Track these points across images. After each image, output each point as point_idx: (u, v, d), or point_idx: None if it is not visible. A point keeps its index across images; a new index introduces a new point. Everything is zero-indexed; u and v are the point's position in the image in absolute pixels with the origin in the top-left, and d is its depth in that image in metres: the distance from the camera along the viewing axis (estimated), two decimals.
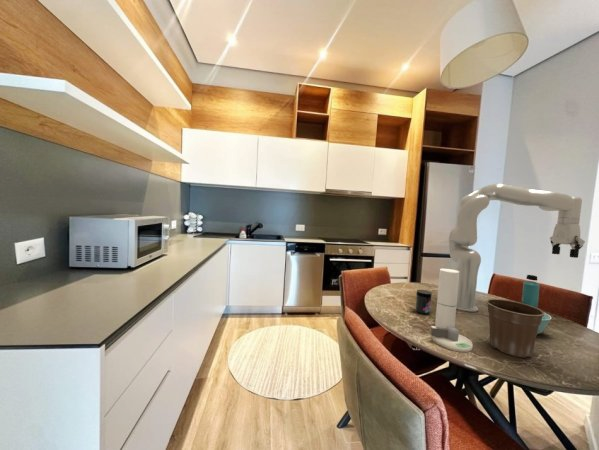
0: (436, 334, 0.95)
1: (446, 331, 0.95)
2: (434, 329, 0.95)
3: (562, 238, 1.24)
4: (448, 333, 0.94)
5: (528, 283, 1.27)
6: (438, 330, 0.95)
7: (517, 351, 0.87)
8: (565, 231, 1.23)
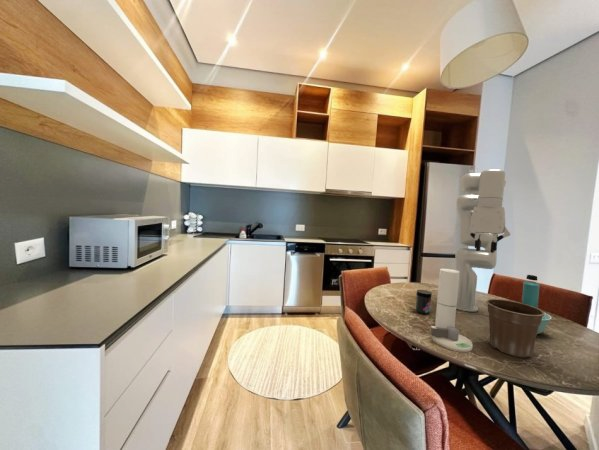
0: (436, 334, 0.95)
1: (446, 331, 0.95)
2: (434, 329, 0.95)
3: (490, 226, 0.92)
4: (448, 333, 0.94)
5: (528, 283, 1.27)
6: (438, 330, 0.95)
7: (517, 351, 0.87)
8: (494, 216, 0.91)
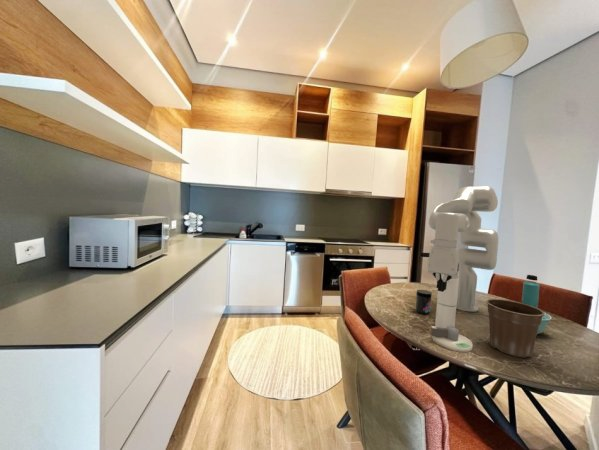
0: (436, 334, 0.95)
1: (446, 331, 0.95)
2: (434, 329, 0.95)
3: (444, 267, 0.95)
4: (448, 333, 0.94)
5: (528, 283, 1.27)
6: (438, 330, 0.95)
7: (517, 351, 0.87)
8: (448, 258, 0.94)
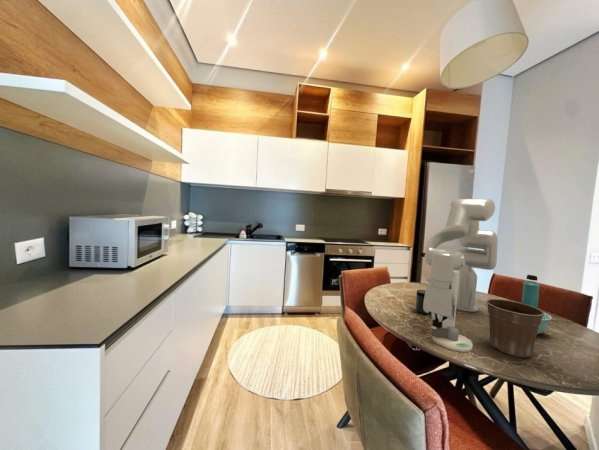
0: (436, 334, 0.95)
1: (446, 331, 0.95)
2: (434, 329, 0.95)
3: (440, 307, 0.95)
4: (448, 333, 0.94)
5: (528, 283, 1.27)
6: (438, 330, 0.95)
7: (517, 351, 0.87)
8: (444, 299, 0.94)
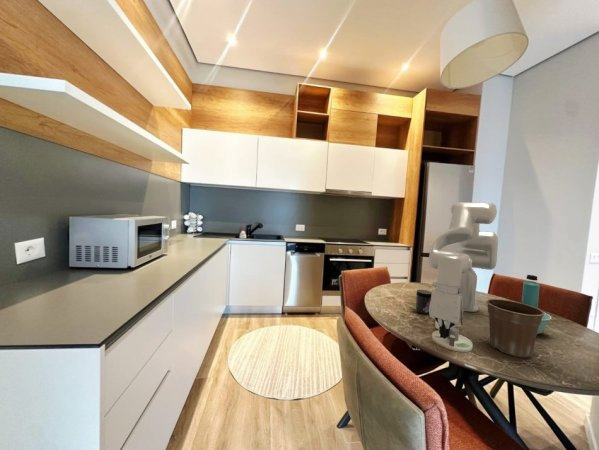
0: None
1: (454, 334, 0.93)
2: (454, 338, 0.89)
3: (447, 314, 0.89)
4: (455, 335, 0.93)
5: (528, 283, 1.27)
6: None
7: (517, 351, 0.87)
8: (451, 305, 0.88)
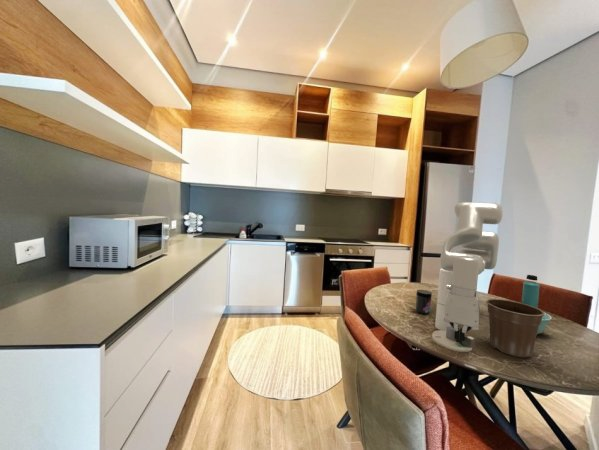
0: None
1: None
2: None
3: (465, 318, 0.86)
4: None
5: (528, 283, 1.27)
6: None
7: (517, 351, 0.87)
8: (470, 308, 0.85)
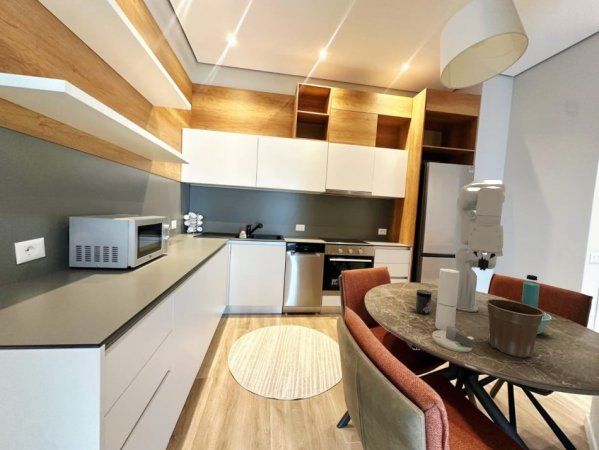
0: None
1: None
2: None
3: (488, 244, 0.90)
4: None
5: (528, 283, 1.27)
6: None
7: (517, 351, 0.87)
8: (493, 235, 0.89)
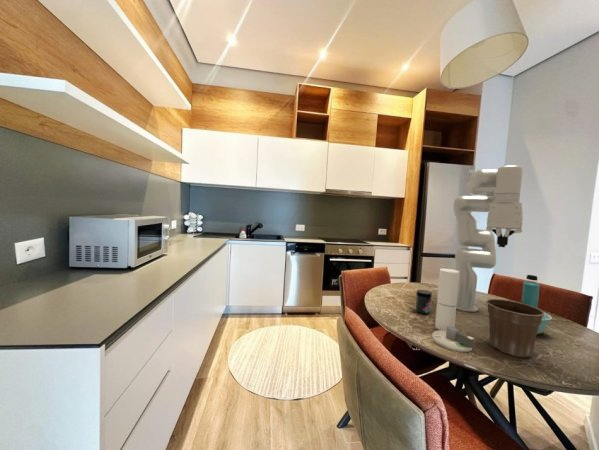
0: None
1: None
2: None
3: (507, 221, 0.93)
4: None
5: (528, 283, 1.27)
6: None
7: (517, 351, 0.87)
8: (512, 211, 0.92)
